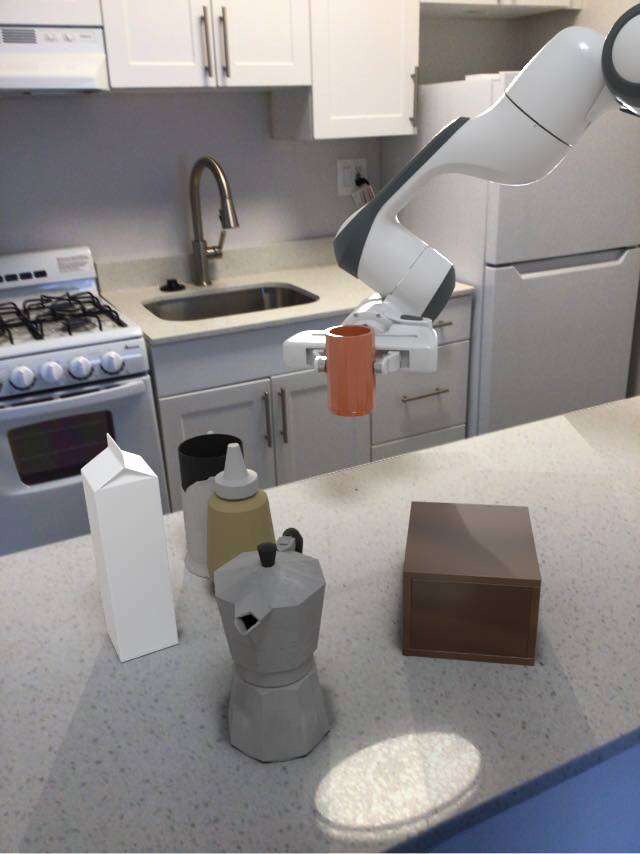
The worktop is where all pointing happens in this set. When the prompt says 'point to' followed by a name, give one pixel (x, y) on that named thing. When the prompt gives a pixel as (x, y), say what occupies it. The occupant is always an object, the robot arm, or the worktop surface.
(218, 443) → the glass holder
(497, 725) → the worktop surface
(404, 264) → the robot arm
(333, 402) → the cup
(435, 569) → the cabinet
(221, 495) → the squeeze bottle
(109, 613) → the milk
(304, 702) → the coffeepot
